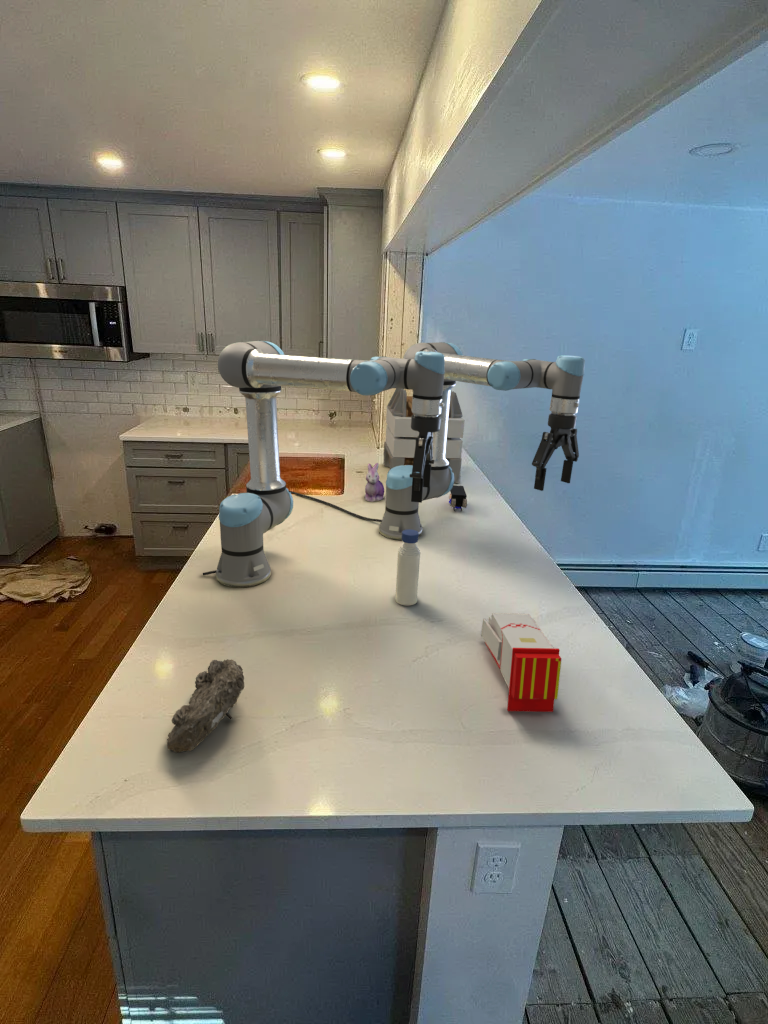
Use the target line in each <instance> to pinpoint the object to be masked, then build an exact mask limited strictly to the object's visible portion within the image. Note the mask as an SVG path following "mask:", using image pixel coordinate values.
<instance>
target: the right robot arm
mask: <svg viewBox="0 0 768 1024" xmlns="http://www.w3.org/2000/svg"><path fill="white" fill-rule="evenodd" d="M420 351H426V352H439V353H442V354H443V355H444V357H445V374H444V384H443V394H442V401H441V403H444V406H443V407H441V414H440V415H438V416H440V417H441V423H440V430H439V431H437V432H433V459H432V460H434V464H431V476H430V487H429V488H428V487H423V494H422V502H423V501H427V500H431V499H437V498H440V497H443V496H446V495H448V493H450V490H451V489H452V487H453V485H454V484H455V483H454V473H452V469H451V467H450V466H449V462H448V461H447V459H446V458H445V453H446V441H447V428H448V416H449V404H450V392H451V391H452V389H453V388H454V387H455V386H456V384H457V382H461V383H465V384H473V385H479V386H487V387H491V388H492V389H494V390H496V391H503V392H504V391H511V390H520V389H532V388H533V389H534V388H539V389H546V390H551V398H550V404H549V413H548V418H547V419H548V420H547V426H548V427H549V428H550V431H549V432H548V431H543V432H542V435H541V440H540V442H539V445H538V447H537V449H536V452H535V454H534V457H533V460H532V461H531V466H533V467H535V475H534V477H535V478H534V485H533V489H534V490H537V491H539V492H543V491H544V489H545V484H546V483H545V482H546V476H547V468H546V466H547V465H548V463H549V461H550V459H551V457H552V456H553V454H554V453H555V451H556V450H557V449H558V448H560V447H561V449H562V452H563V455H564V458H565V459H563V463H562V468H561V469H562V470H561V475H560V482H562V483H566V484H571V478H572V472H573V466H574V463H576V462H578V461H579V457H580V453H579V444H578V428H576V423H577V419H578V416H577V414H578V412H579V411H578V410H579V406H580V397H581V391H582V385H583V380H584V376H585V365H586V360H585V358H584V357H582V356H578V355H566V354H565V355H564V354H563V355H558V356H557V357H556V360H555V361H549V360H541V359H536V358H524V359H521V360H506V359H505V360H504V359H503V360H502V359H496V358H487V357H479V356H471V355H464V354H463V352H462V350H461V349H460V347H459V346H457V345H456V344H455V343H451V342H445V341H443V342H442V341H441V342H440V341H439V342H438V341H437V342H417V343H414V344H412V345H411V346H409V347H408V348H407V350H406V351H405V353H404V355H403V358H402V359H414V358H415V354H416V353H417V352H420ZM412 468H413V465H401V466H396V467H394V468H392V469H390V468H389V470H388V472H387V474H386V479H385V504H384V505H385V507H384V508H385V509H384V513H383V515H382V519H381V518H380V519H379V518H370V517H366V516H362V515H359V514H357V513H355V512H352V511H349V510H347V509H345V508H343V507H340V506H337V505H335V504H333V503H330V502H327V501H325V500H322V499H319V498H316V497H313V496H309V495H306V494H303V493H299V492H296V491H293V490H289V489H288V491H289V492H290V493H291V495H294V496H295V495H296V496H298V497H301V498H305V499H309V500H311V501H312V500H313V501H316V502H318V503H321V504H324V505H326V506H329V507H332V508H334V509H336V510H339V511H341V512H344V513H346V514H348V515H350V516H353V517H355V518H358V519H362V520H365V521H369V522H375V523H376V522H377V523H379V525H378V533H379V534H380V535H381V536H382V537H385V538H387V539H389V540H395V541H402V531H403V530H408V529H411V530H416V531H418V533H419V537H418V538H420V537H421V536H422V535H423V525H422V524H421V518H420V515H419V507H420V506H419V505H420V503H419V502H411V495H412V480H413V478H411V477H410V474H412ZM416 473H419V472H416Z"/></svg>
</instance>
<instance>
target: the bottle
mask: <svg viewBox="0 0 768 1024" xmlns="http://www.w3.org/2000/svg"><path fill="white" fill-rule="evenodd" d="M396 561H397V563H396V580H395V598H394V600H395V602H396V603H397V604H398V605H401V606H406V607H407V606H414V605H415V604H416V603H417V602H418V591H419V578H420V576H419V575H420V563H421V550H420V548H419V547H418V546H417V543H405V542H403V543H402V545H401V546H400V547H399V548H398V550H397V560H396Z"/></svg>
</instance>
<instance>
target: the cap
mask: <svg viewBox="0 0 768 1024" xmlns="http://www.w3.org/2000/svg"><path fill="white" fill-rule="evenodd" d="M419 538H420V537H419V533H418V531H416V530H411V529H408V530H403V531H402V540H401V541H402V543H404V542H405V543H415V544H417V543H418V542H419Z"/></svg>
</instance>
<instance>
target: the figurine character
mask: <svg viewBox="0 0 768 1024" xmlns="http://www.w3.org/2000/svg"><path fill="white" fill-rule="evenodd" d="M467 495H468V494H467V493H466V490H465V487H464V485H456V484H455V485H454V484H453V487H452V489H451V490H450V491H449V496H448V499H449V500H448V504H449V506H450V507H451V508H452V510H453V512H456V510H458V509H459V510H460V512H463V509H464V508H465V509H466V508H467V506H468V499H467V497H468V496H467Z"/></svg>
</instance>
